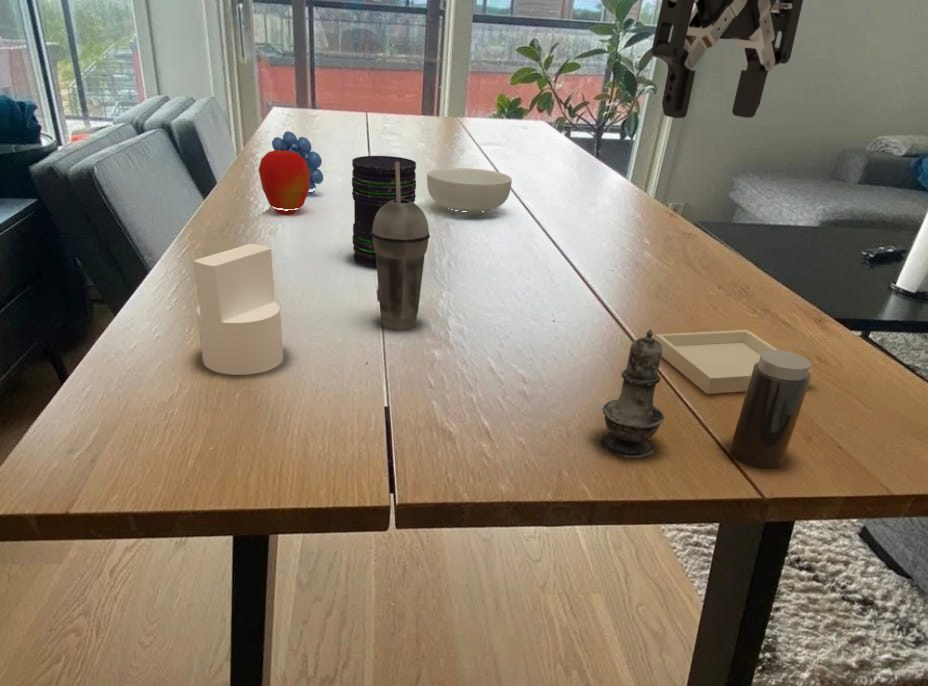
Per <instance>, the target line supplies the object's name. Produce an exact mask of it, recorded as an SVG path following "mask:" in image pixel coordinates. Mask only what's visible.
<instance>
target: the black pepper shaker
mask: <svg viewBox="0 0 928 686" xmlns="http://www.w3.org/2000/svg"><path fill="white" fill-rule="evenodd" d="M811 367H812V362H811V360H810V359H809V358H807V357H806V356H804V355H801V354H800V353H797V352H793V351H789V350H785V349H777V350H767V351H764V352H762V353H761V355H760V358H759V362H757V363H756V364H755V365H754V367H753V370H752V374H751V377H750V381H749V384H748V388H747V391H745V395H744V398H743V401H742V405H741V409H740V412H739V416H738V420H737V423H736V426H735V430H734V434H733V437H732V441H731V444H730V447H729V452H730V454H731V456H732V458H734V459H735V460H737V461H738V462H740V463H742V464H745V465H747V466H750V467H754V468H758V469H775V468H779V467H780V466H781V465H782V464H783V463H784V460H785V457H786V454H787V451H788V448H789V445H790V442H791V439H792V436H793V433H794V430H795V427H796V424H797V421H798V418H799V414H800V411H801V409H802V406H803V403H804V399H805V396H806V394H807V391H808V387H809V386H810V381H811V379H812V376H811V375H810V374H809V371H811Z"/></svg>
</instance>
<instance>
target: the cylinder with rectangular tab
mask: <svg viewBox="0 0 928 686" xmlns="http://www.w3.org/2000/svg"><path fill="white" fill-rule="evenodd" d="M272 255H273V254H272V248H271V247H269V246H265V245H262V244H256V243H248V244H246V245H241V246H238V247H235V248H232V249H228V250H225V251H221V252H218V253H214V254H211V255H207V256H204V257H200V258H197V259H193V267H194V274H195V282H196V283H195V284H196V289H197V290H196V291H197V297H198V299H197V300H198V305H197V307H196V317H197V325H198V334H199V341H200V348H201V356H202V362H203V365H204V366H205V367H206V368H207V369H209V370H211V371H213V372H215V373H220V374H223V375H231V376H232V375H233V376H245V375H255V374H256V375H257V374H261V373H266V372H267V371H271V370H273V369H275V368H277V367H278V366H280V365H281V364H282V363H283V361H284V346H283V331H282V315H281V306H280V304H279V303H278V302H276V299H275V297H276V296H275V284H274V270H273V257H272Z"/></svg>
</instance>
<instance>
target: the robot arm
mask: <svg viewBox="0 0 928 686" xmlns="http://www.w3.org/2000/svg"><path fill="white" fill-rule="evenodd" d="M803 3H804V0H661V5H660V7H659V13H658V18H657V23H656V26H655V31H654V32H655V33H654V37H653V42H652V48H651V55H652V56H653V57H654V58H657V59H660V60H661V61H663V62H665V63H666V65H667V75H666V80H665V86H664V91H663V96H662V101H661V102H662V109H663V115H664V116H665V117H668V118H674V119H684V118H685V117H686V116H687V114H688V110H689V106H690V101H691V97H692V96H691V95H692V91H693V86H694V82H695V76H696V70H694V68H695V67H696V65H697V64H698V62H699V61H700V60H701V58H702V57H703V55H704V54H705V52H706V51H707V50H708V49H709V48H712V47H714V46H715V45H716V44H717V43H718V41H719V40H734V41H733V42H734V43H735V45H736V47H738V48H739V49H740V52H741V57H742V61H743V64H744V68H745V69H741V70H740V75H739V80H738V82H737V83H738V84H737V88H736V93H735V96H734V100H733V104H732V105H733V106H732V109H731V111H732V115H733V116H735V117H739V118H744V119H745V118H747V119H749V118H751V119H752V118H754V117H755V116H756V113H757V111H758V109H759V107H760V105H761V100H762V98H763V93H764V88H765V84H766V82H767V77H768V74H769V72H770V71H772V70H773V69H774V67H776V66H777V65H779V64H784V65H785V64H787V63H788V62H789V61H790V59H791V56H792V52H793V47H794V42H795V38H796V34H797V30H798V24H799V21H800V16H801V12H802V7H803ZM694 5H695V8H694ZM671 30H672V31H671ZM779 32H780V33H781V36H780V41H779V46H776V43H777V39H778V34H779ZM670 34H671V35H670ZM669 39H670V40H669Z"/></svg>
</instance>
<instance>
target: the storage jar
mask: <svg viewBox="0 0 928 686" xmlns="http://www.w3.org/2000/svg"><path fill="white" fill-rule="evenodd" d="M395 162H399V166H400V193H401V199H405V200H409V201H411V202H413V203H414V202H415V201H416V197H417V195H416V190H417V180H416V177H417V176H416V175H417V173H416V169H417V162H416V161H415V160H412V159H409V158H406V157H399V156H390V155H365V156H363V155H362V156H357V157H355V158H352V161H351V166H352V171H351V173H352V178H351V187H352V191H351V194H352V199H353V203H354V204H353V205H354V208H353V209H354V210H353V211H354V213H353V214H354V223H353V224H352V245H353V247H352V248H353V252H354V253H353V256H352V257H353V262H354V263H355V264H357V265H359V266H362V267H365V268H369V269H376V270H377V266H376V253H375V251H374V246H373V236H372V235H371V232H372V229H373V222H374V218H375V216H376V214H377V212H378V211H379V209H380V208H381V207H382V206H383V205H384V204H386V203H387V202H389V201H392V200H395V199H397V198H396V171H395Z"/></svg>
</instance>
